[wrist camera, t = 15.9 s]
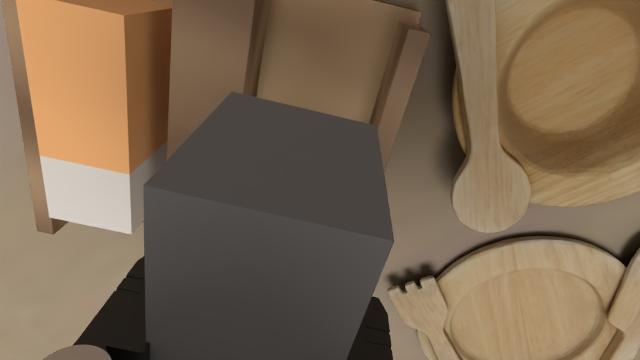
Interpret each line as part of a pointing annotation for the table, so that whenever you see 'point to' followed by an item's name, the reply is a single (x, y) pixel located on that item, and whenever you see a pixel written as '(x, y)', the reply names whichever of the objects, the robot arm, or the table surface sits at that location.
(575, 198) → the tableware set
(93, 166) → the orange white rectangular block
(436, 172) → the table surface
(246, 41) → the brown wooden divided tray
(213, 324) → the two-tone square pillar
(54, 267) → the table surface
